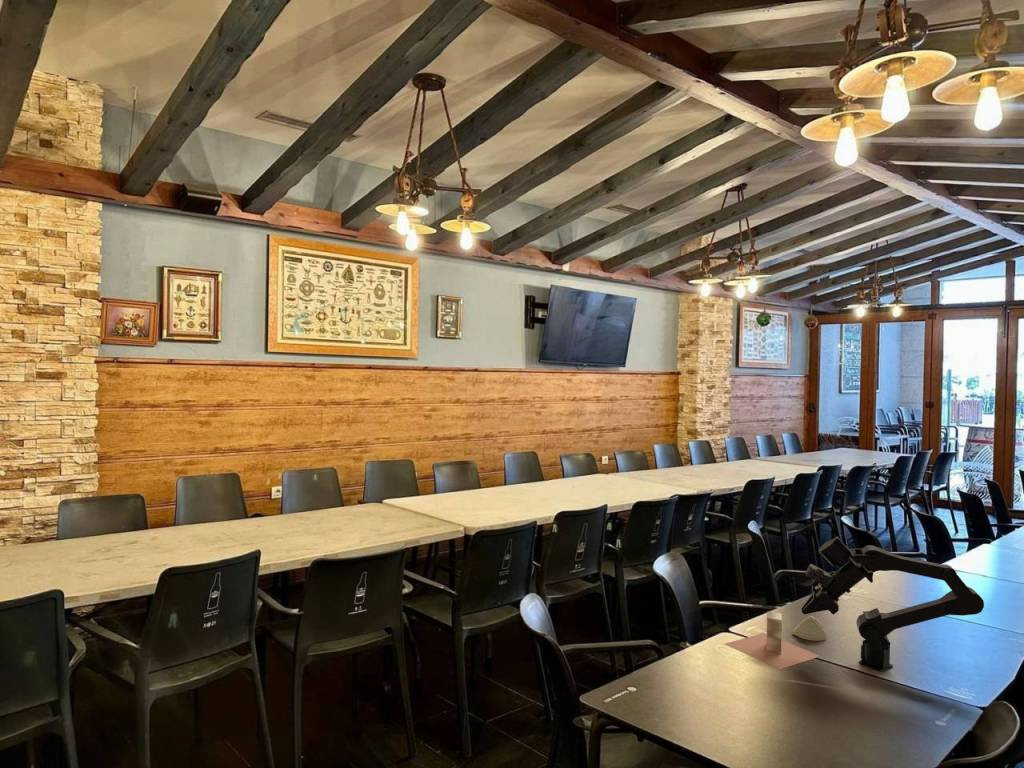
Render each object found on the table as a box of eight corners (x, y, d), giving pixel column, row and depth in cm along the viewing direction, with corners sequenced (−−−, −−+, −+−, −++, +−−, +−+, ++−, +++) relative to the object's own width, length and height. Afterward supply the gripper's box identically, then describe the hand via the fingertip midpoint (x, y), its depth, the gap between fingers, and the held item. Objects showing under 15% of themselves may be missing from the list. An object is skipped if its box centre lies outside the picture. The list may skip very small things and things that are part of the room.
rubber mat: (820, 657, 198) (820, 656, 198) (780, 670, 189) (780, 669, 189) (763, 634, 215) (763, 633, 215) (723, 645, 206) (723, 643, 206)
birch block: (780, 646, 205) (781, 613, 205) (781, 654, 199) (781, 620, 199) (766, 644, 206) (767, 611, 206) (766, 651, 200) (767, 618, 200)
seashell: (834, 636, 208) (813, 624, 208) (815, 653, 212) (795, 641, 211) (826, 618, 216) (806, 606, 215) (808, 634, 219) (788, 623, 218)
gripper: (821, 549, 207) (781, 581, 210) (826, 565, 189) (782, 599, 193) (849, 578, 204) (808, 610, 208) (857, 597, 186) (812, 631, 190)
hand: (802, 611), depth 200 cm, fingers closed
